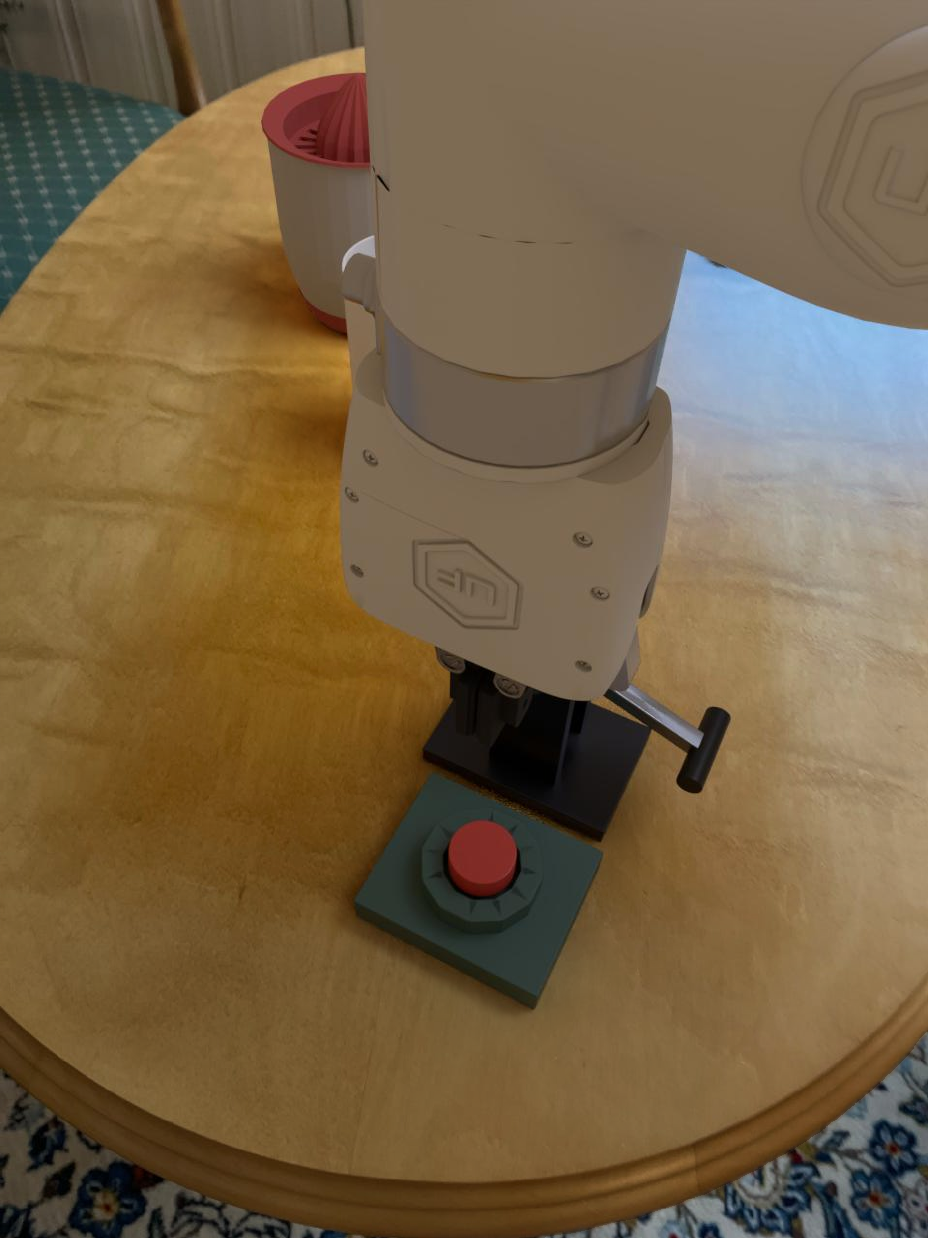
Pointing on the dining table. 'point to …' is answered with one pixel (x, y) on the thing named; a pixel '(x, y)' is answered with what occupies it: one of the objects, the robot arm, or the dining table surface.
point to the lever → (679, 733)
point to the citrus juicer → (321, 183)
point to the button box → (473, 925)
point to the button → (482, 858)
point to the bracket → (550, 759)
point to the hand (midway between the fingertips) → (489, 713)
